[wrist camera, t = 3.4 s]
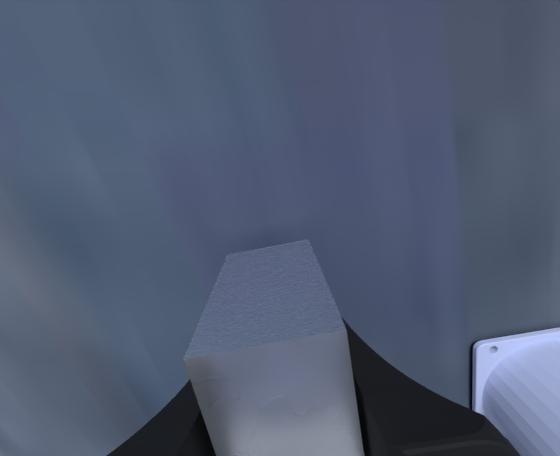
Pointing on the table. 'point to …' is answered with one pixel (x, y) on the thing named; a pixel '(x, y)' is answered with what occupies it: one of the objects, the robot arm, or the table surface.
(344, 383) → the block
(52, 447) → the table surface
